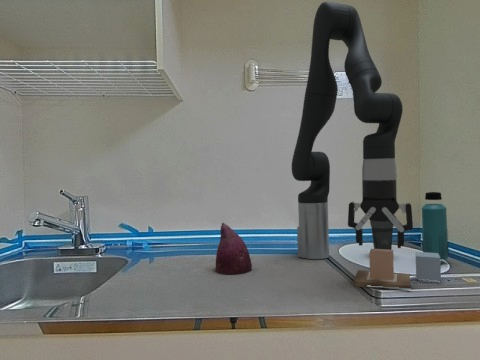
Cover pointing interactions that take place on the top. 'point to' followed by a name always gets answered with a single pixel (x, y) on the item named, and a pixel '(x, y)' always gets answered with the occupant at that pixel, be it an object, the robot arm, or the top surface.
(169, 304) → the top surface
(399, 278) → the board
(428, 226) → the beverage bottle
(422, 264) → the slate block
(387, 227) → the beverage cup
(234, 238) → the vegetable
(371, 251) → the terracotta block
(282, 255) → the top surface
